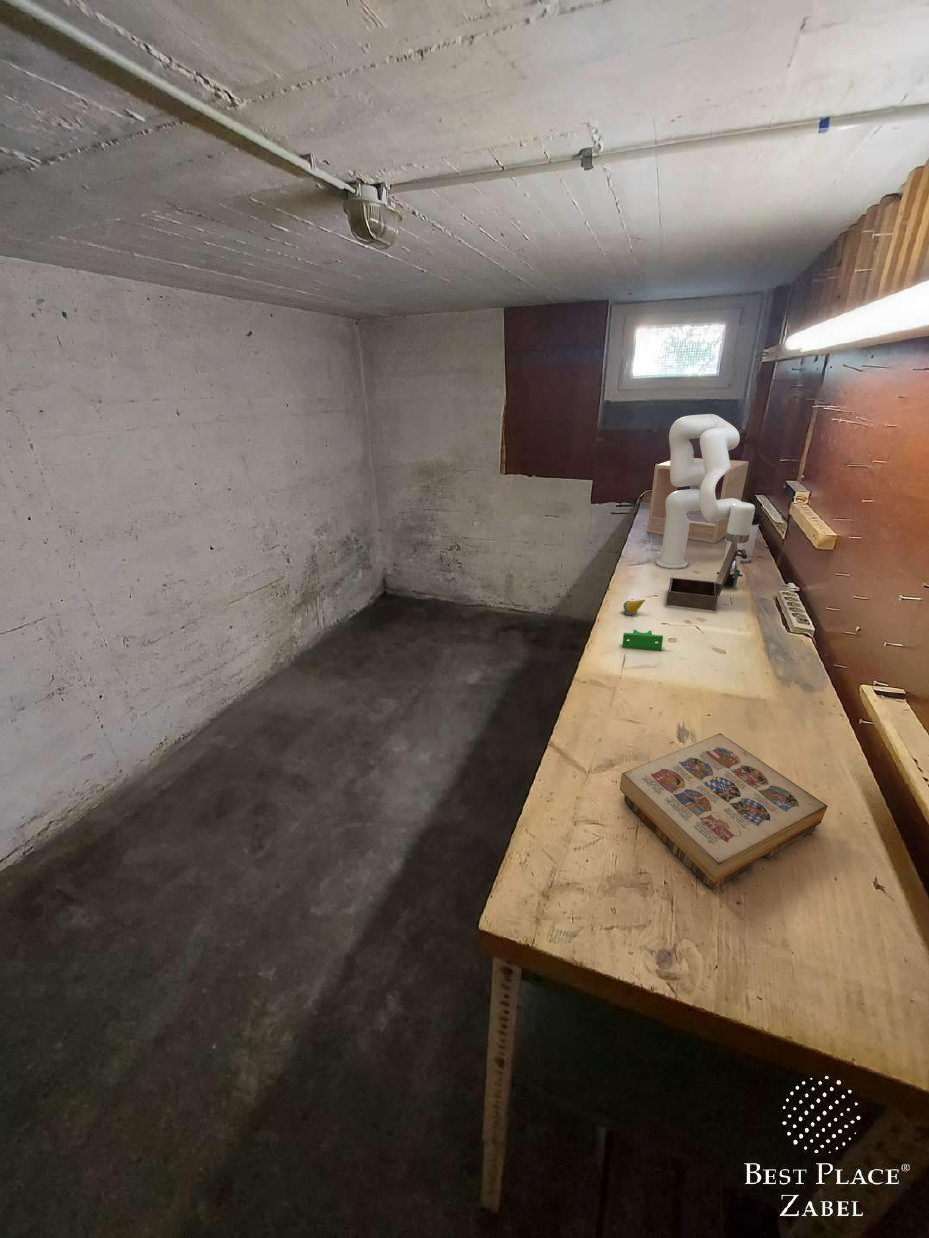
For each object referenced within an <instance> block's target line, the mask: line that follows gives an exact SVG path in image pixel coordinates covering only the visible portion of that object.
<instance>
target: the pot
mask: <svg viewBox="0 0 929 1238" xmlns="http://www.w3.org/2000/svg"><path fill="white" fill-rule="evenodd" d="M719 572H720V571H717V572H716V575H719ZM740 577H741V578H742V577H744V574H742V573H741V571H740V569H739V568H738V569H737V570H736V571H735V579H734V584H733V587H724V586H723V588H722V589H727V590H732V589H733V590H734V589H736V588H737V585H738V579H739V578H740Z"/></svg>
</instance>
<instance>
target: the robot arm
mask: <svg viewBox="0 0 929 1238" xmlns="http://www.w3.org/2000/svg"><path fill="white" fill-rule="evenodd" d="M692 439H699V447H700V452H701V457H702V458H701V459H703V461H694V458H695V456H694V455H695V451H694V447H693V444H692V442H691V441H690V440H692ZM740 440H741V436H740V433H739V430H738V429H737V428H736V427H735V426H734V425H733V424H731V423H730V422H728V421H727V420H726V419H724V418H722V417H720V416H719V415H717V414H713V413H705V414H691V415H684V416H682V417H679V418H677V419H676V420H675V421H674V422H673V423H672V425H671V426H670V429H669V433H668V442H669V449H670V460H669V461H670V481H671V484H672V485H673V486H675V487H678V488H684V487H689V489H687V488H686V489H680V490H677V491H675V492H673V493H671V494H670V495H669V496H668V497H667V499H666V503H665V507H666V521H665V529H664V535H663V536H662V537H663V538H662V543H661V544H662V545H661V549H660V550H659V551H657V552H656V555H659V557H658V558H657V559H656V560H655V563H656V565H657V566H660V567H662V568H665V569H671V570H672V569H675V570H676V569H677V570H679V569H683V568H686V567H687V566H688V561H687V560H685V558H686V557H685V556H686V550H687V544H688V540H689V539H688V533H689V525H690V524H689V520H690V519H689V517H688V514H690V513H697V512H701V515H702V517H703V518H704V520H706V521H709V522H716V521H719V520H726V519H729V521H728V526H727V532H726V536H724V541H725V542H726V545H725V549H724V554H723V558H722V564H723V563H724V560H725V558H726V555H727V553H728V551H729V548H730V546H731V543H732V541H733V539H734V538H735V539H736V541H737V547H738V549H739V550H742V549H743V546H744V544H746V543H748V540H749V535H750V530H751V526H752V521H753V517H754V515H755V511H756V506H755V505H754V504H753V503H750V502H744V501H742V500H741V501H740V500H738V499H734V498H728V499H721V500H720V499H717V497H716V488H717V485H718V482H719V480H721V478H722V477H723V476H725V474H726V473H728V472H729V471H730V469H731V465H730V460H731V459H730V454H729V451H733V450H735V449H736V448H737V447H738V446H739V443H740ZM738 554H741V552H738ZM740 560H741V557H739V556H736V558H735V560H734V563H733V565H732V567H731V570H730V572H729V574H728V577H727V579H726V581H725V584H724V587H733V584H734V579H735V571H736V570H737V569H738V570H739V568H740V564H741V563H740Z"/></svg>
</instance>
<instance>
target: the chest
mask: <svg viewBox="0 0 929 1238" xmlns="http://www.w3.org/2000/svg"><path fill="white" fill-rule="evenodd" d="M718 597H719V596H717V593H716V581H707V580H701V579H700V580H697V579H689V578H678V577H670V579H669V585H668V591H667V597H666V603H665V605H666V606H671V607H672V606H673V607H679V608H688V609H696V610H704V611H712V612H715V611H716V607H717V601H718Z"/></svg>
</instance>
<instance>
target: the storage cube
mask: <svg viewBox="0 0 929 1238" xmlns="http://www.w3.org/2000/svg"><path fill="white" fill-rule="evenodd" d="M729 460H730V465H731V469H730V471H729V472H728V473H726V474H725V475H723V476H724V477H723V482H722V487H721V492H720V498H719V500H721V499H728V498H734V499H738V500H740V501H742V498H743V493H744V488H745V483H746V478H747V473H748V469H749V464H750V462H749V461H748V460H734V459H729ZM694 461H703V458H700V457H699V458H698V457H694ZM653 473H654V474H653V481H652V489H651V495H650V497H651V499H650V505H649V506H650V507H649V513H648V520H647V530H646V532H647V533H649V534H655V535H661V536H662V535H663V536H664V529H665V521H666V507H665V503H666V499H667V497H668V496H669V495H670V494H671V493H673V492H675V491H678V488H679V487H675V486H673V485H672V484H671V481H670V460H667V461H664V462H661V463H658V464H655V465H654V472H653ZM728 521H729V519H726V520H719V521H715V523H714V522H713V523H712V522H704V521H697V520H690V519H689V524H690V525H689V533H688V539H687V540H693V541H698V542H699V541H700V542H705V543H712V544H715V543H717V542H719V541H720V540H721V539H723V538H725V537H726V532H727V526H728Z"/></svg>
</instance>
